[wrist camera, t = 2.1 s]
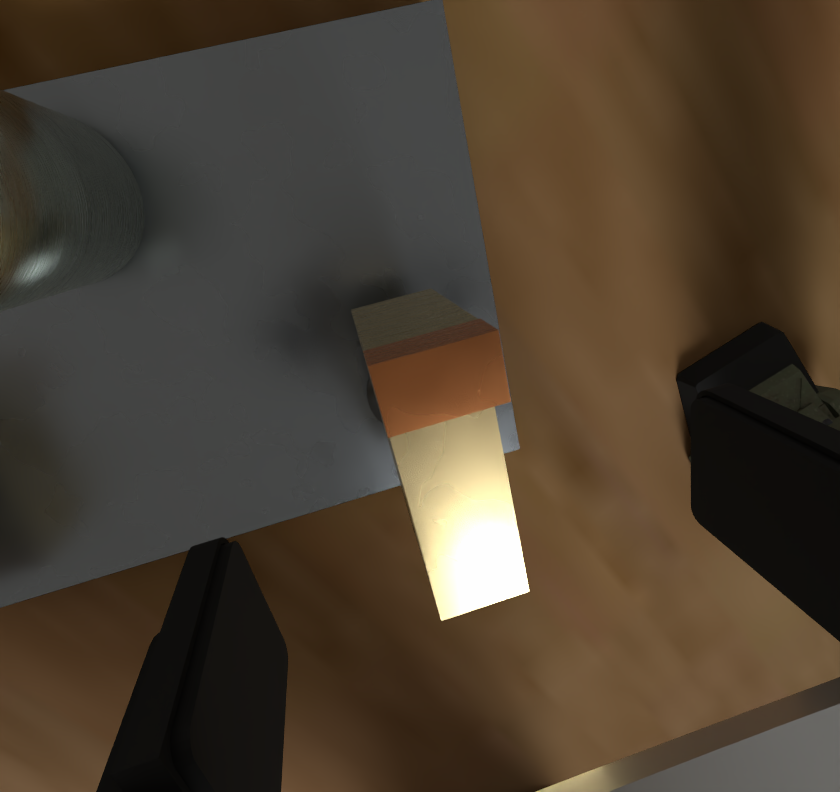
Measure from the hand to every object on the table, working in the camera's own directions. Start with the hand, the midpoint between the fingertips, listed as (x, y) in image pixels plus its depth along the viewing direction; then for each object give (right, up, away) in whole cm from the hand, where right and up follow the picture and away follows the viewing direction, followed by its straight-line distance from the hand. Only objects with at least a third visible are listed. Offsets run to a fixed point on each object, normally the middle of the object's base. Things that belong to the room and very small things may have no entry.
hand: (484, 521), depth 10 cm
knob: (-2, +3, +9) cm, 10 cm away
